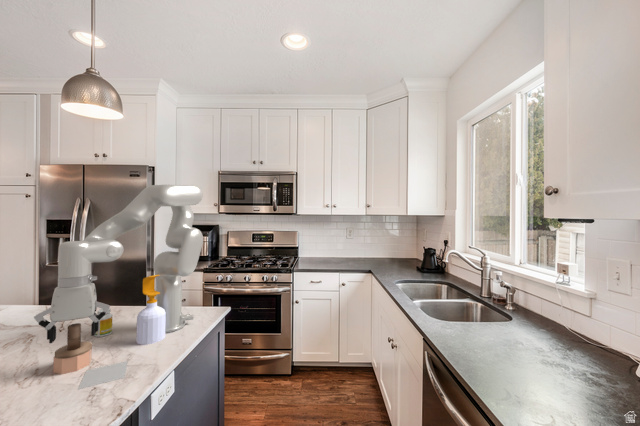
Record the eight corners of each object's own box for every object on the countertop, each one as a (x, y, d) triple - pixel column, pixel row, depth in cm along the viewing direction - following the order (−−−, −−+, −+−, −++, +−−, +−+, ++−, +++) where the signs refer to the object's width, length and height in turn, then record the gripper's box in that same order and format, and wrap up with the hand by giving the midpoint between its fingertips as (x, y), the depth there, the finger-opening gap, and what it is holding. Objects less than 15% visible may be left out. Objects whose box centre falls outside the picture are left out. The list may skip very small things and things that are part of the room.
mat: (127, 362, 84) (127, 360, 84) (124, 379, 76) (124, 377, 76) (86, 372, 79) (86, 370, 79) (78, 391, 70) (78, 389, 70)
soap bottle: (144, 348, 93) (145, 278, 93) (131, 341, 98) (133, 275, 98) (169, 338, 101) (171, 274, 101) (157, 332, 106) (158, 271, 106)
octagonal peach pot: (92, 358, 87) (93, 342, 87) (87, 370, 80) (87, 353, 80) (59, 365, 82) (59, 348, 83) (50, 378, 76) (50, 361, 76)
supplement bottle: (90, 337, 101) (91, 312, 101) (101, 331, 106) (101, 307, 106) (105, 337, 101) (106, 312, 101) (115, 331, 107) (115, 307, 107)
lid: (94, 342, 87) (94, 317, 87) (88, 353, 80) (89, 327, 80) (59, 348, 83) (60, 323, 83) (50, 361, 75) (50, 333, 76)
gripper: (112, 275, 89) (111, 327, 89) (40, 282, 80) (38, 339, 80) (108, 280, 83) (107, 336, 83) (29, 288, 74) (28, 350, 73)
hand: (73, 337), depth 81 cm, fingers open, 9 cm apart
